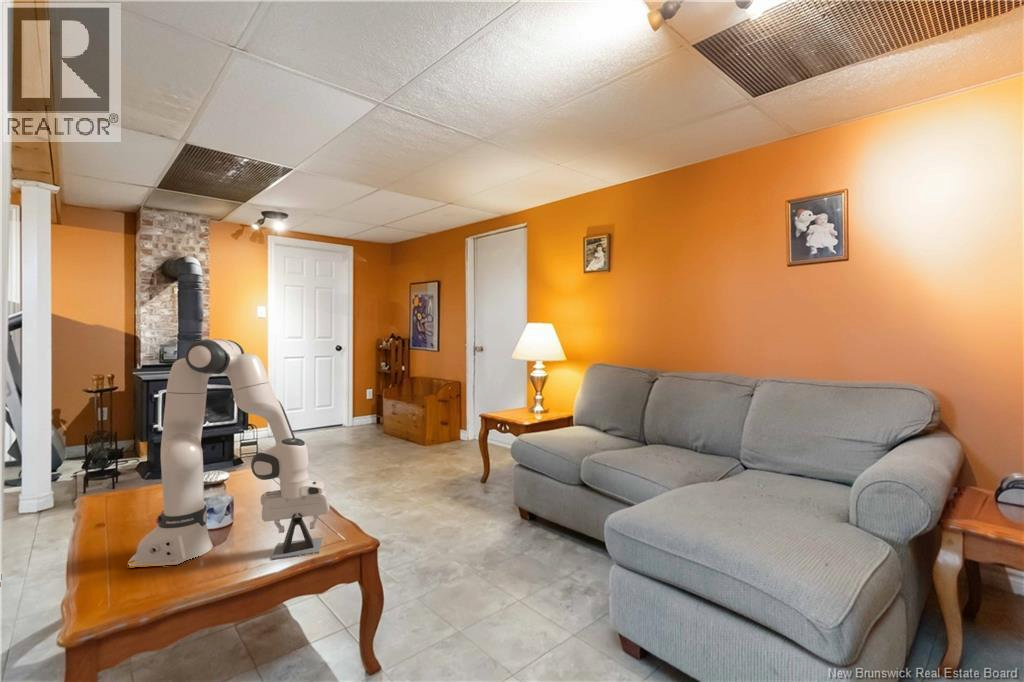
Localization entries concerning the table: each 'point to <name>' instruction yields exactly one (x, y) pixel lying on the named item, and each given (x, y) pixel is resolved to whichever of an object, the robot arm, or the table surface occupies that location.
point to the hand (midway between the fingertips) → (297, 530)
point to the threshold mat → (279, 550)
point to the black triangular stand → (288, 539)
